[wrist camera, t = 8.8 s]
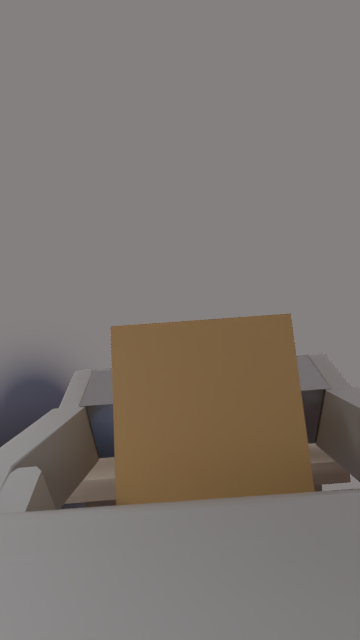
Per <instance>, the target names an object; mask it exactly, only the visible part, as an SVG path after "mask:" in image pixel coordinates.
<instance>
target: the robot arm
mask: <svg viewBox="0 0 360 640" xmlns="http://www.w3.org/2000/svg"><path fill="white" fill-rule="evenodd" d="M296 357H297V365H298V372H299V380H300V387H301V394H302V402H303V409H304V417H305V424H306V432H307V439H308V444H313V443H316V445H317V446H318V447H319V448H320V449H321V450H323V451H324V452H325V453H326V454H327V455H329V456H330V457H331V458H332V459H333V460H334V461H336V462H337V463H338V464H339V465H340V466H342V467H343V468H344V469H345V470H346V471H347V472H349V473H350V474H351V475H352V476H353V477H355V478H356V479H357V480H358V481H359V482H360V388H358V387H355V388H352V387H351V386H350V384H349V383H348V382H347V381H346V379H345V378H344V377H343V376H342V374H341V373H340V372H339V371H338V369H337V368H336V367H335V366H334V364H333V363H332V362H331V361H330V359H329V358H328V357H327V356H326V354H323V353H316V354H306V355H299V356H296ZM109 457H115V453H114V421H113V388H112V368H111V369H95V370H93V369H92V370H78V371H76V372H75V373H74V375H73V377H72V379H71V381H70V384H69V386H68V388H67V390H66V393H65V395H64V397H63V400H62V402H61V405H60V407H59V408H58V409H52V410H51V411H50V412H48V413H47V414H46V415H44V416H43V417H41V418H40V419H39V420H37V421H36V422H35V423H33V424H32V425H31V426H30V427H28V428H26V429H25V430H24V431H22V432H21V433H20V434H18V435H17V436H16V437H14V438H13V439H11V440H10V441H9V442H7V443H6V444H5V445H3V446H2V447H1V448H0V640H360V489H348V490H332V491H318V492H303V493H288V494H274V495H259V496H245V497H230V498H216V499H202V500H187V501H173V502H159V503H144V504H130V505H115V506H101V507H87V508H72V509H60V508H61V507H62V506H63V504H64V503H65V502H66V501H67V499H68V498H69V497H70V496H71V494H72V493H73V492H74V491H75V489H76V488H77V487H78V486H79V484H80V483H81V482H82V481H83V479H84V478H85V477H86V476H87V475H88V473H89V472H90V471H91V470H92V468H93V467H94V466H95V465H96V463H97V462H98V461H99V458H109Z"/></svg>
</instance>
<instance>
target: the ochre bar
mask: <svg viewBox="0 0 360 640" xmlns="http://www.w3.org/2000/svg"><path fill="white" fill-rule="evenodd" d="M111 355H112V388H113V421H114V453H115V486H116V505H130V504H144V503H159V502H173V501H187V500H202V499H216V498H230V497H245V496H259V495H274V494H288V493H303V492H315V491H314V484H313V476H312V469H311V461H310V454H309V447H308V439H307V432H306V424H305V417H304V409H303V402H302V394H301V387H300V380H299V372H298V365H297V357H296V350H295V342H294V336H293V327H292V320H291V314H280V315H265V316H251V317H237V318H223V319H209V320H194V321H181V322H167V323H152V324H139V325H125V326H112V327H111Z"/></svg>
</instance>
